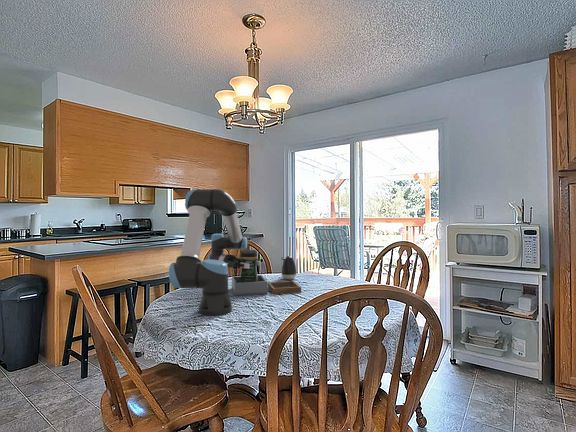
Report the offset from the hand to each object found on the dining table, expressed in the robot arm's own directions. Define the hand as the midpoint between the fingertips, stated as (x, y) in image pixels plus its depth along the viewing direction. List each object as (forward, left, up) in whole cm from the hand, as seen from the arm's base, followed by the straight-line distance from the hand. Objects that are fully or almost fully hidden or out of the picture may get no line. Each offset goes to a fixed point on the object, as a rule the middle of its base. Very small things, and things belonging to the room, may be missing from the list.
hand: (254, 264), depth 190 cm
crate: (+3, +3, -15) cm, 16 cm away
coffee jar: (+4, +3, -11) cm, 12 cm away
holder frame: (+1, -17, -15) cm, 23 cm away
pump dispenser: (+29, -27, -16) cm, 43 cm away
